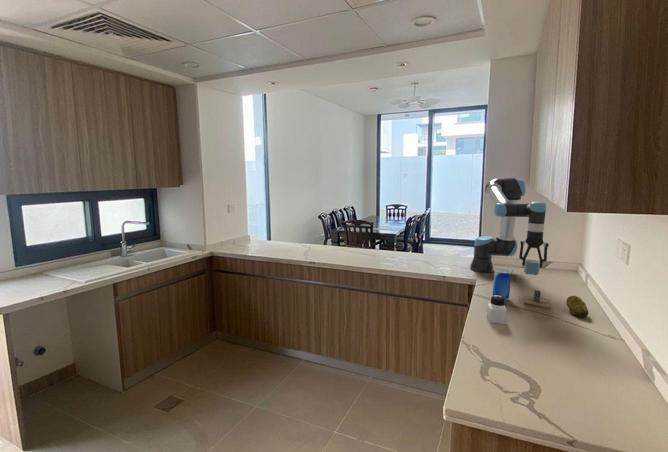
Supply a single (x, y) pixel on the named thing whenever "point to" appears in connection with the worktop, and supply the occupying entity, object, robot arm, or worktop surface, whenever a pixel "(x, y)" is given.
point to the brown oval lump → (577, 306)
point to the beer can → (502, 283)
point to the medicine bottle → (497, 310)
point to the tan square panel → (536, 300)
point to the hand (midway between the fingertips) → (531, 272)
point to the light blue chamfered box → (532, 267)
